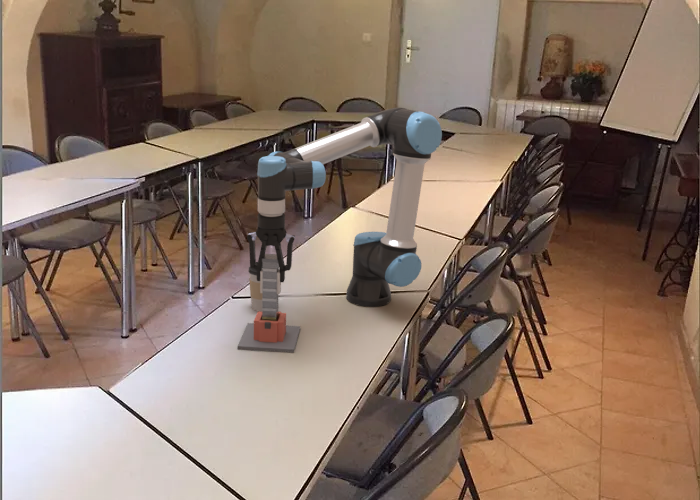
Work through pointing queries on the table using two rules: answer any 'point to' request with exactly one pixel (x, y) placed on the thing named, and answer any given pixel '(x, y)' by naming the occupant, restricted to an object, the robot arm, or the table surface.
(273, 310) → the column
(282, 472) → the table surface
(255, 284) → the coffee cup
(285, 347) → the stand
